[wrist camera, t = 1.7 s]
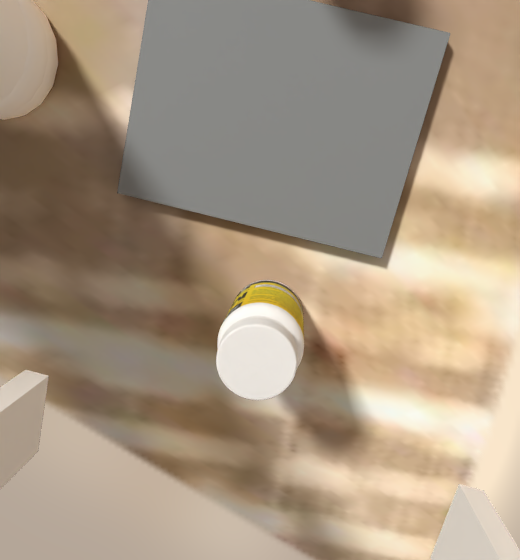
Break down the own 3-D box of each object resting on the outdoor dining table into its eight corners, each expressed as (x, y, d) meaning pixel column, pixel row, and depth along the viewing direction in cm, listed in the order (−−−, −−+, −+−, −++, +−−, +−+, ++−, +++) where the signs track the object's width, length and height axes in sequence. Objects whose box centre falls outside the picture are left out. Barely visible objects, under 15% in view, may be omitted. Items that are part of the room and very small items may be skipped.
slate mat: (122, 192, 29) (117, 193, 28) (158, -30, 26) (154, -36, 25) (379, 256, 28) (381, 258, 27) (445, 37, 25) (450, 33, 25)
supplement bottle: (242, 270, 29) (220, 303, 21) (311, 289, 29) (317, 330, 21) (225, 337, 30) (198, 393, 22) (292, 355, 30) (290, 419, 22)
